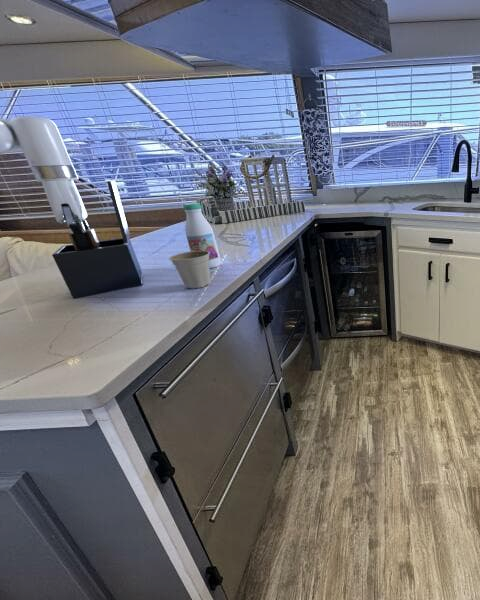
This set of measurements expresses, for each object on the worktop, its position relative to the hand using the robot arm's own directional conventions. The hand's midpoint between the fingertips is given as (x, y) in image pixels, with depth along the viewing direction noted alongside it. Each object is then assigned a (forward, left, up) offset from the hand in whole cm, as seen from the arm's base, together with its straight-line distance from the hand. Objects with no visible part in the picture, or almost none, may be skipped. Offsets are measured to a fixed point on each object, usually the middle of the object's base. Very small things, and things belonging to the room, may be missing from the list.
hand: (87, 246), depth 86 cm
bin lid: (+8, +3, +8) cm, 12 cm away
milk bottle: (+24, +11, -12) cm, 29 cm away
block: (0, 0, 0) cm, 0 cm away
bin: (+1, 0, -12) cm, 12 cm away
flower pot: (+26, -9, -12) cm, 30 cm away
